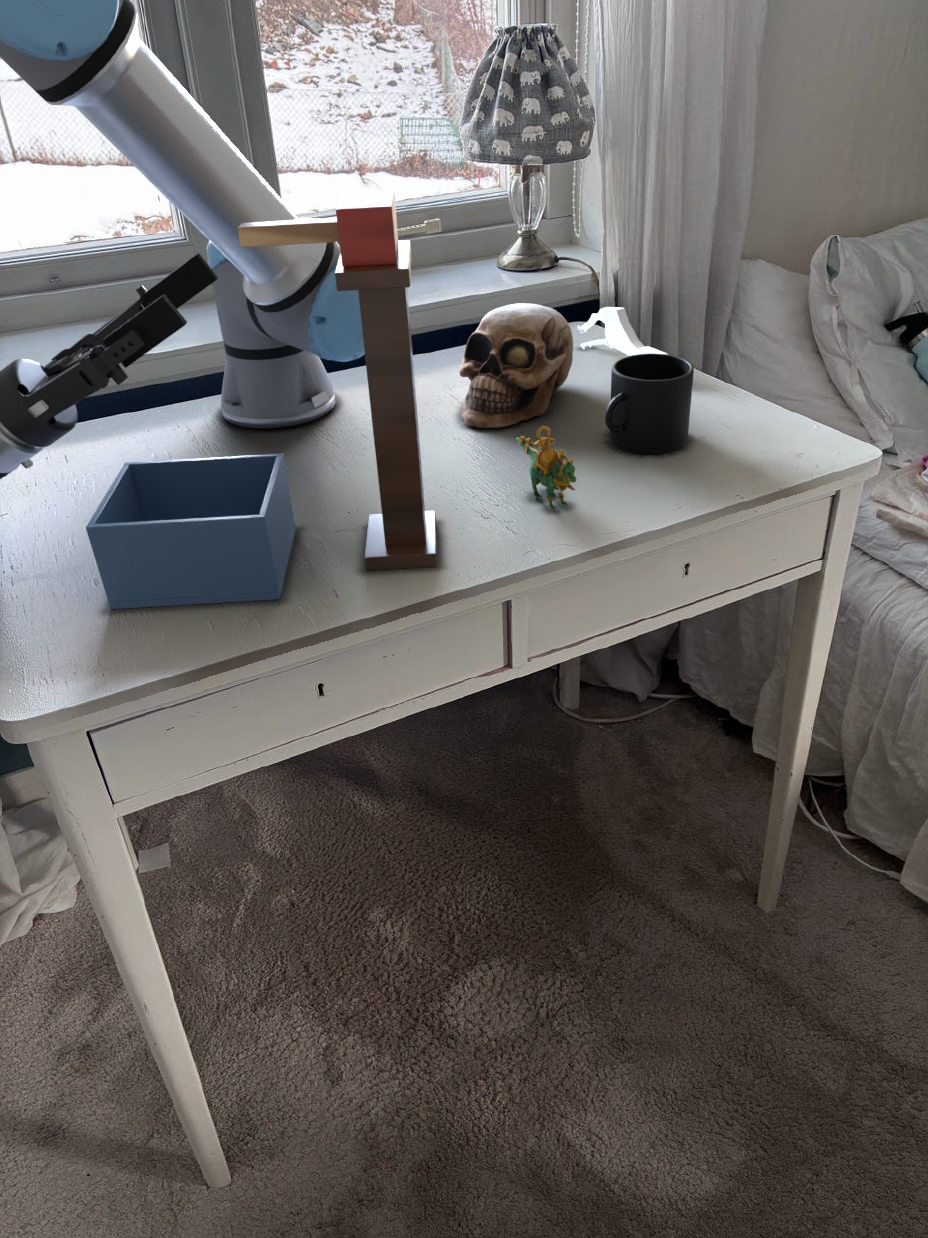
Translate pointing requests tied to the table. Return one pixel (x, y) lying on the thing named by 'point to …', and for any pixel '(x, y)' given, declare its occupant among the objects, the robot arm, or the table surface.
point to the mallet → (339, 230)
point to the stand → (392, 416)
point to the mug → (650, 403)
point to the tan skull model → (515, 364)
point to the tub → (194, 531)
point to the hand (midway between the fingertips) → (192, 285)
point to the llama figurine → (617, 332)
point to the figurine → (548, 467)
